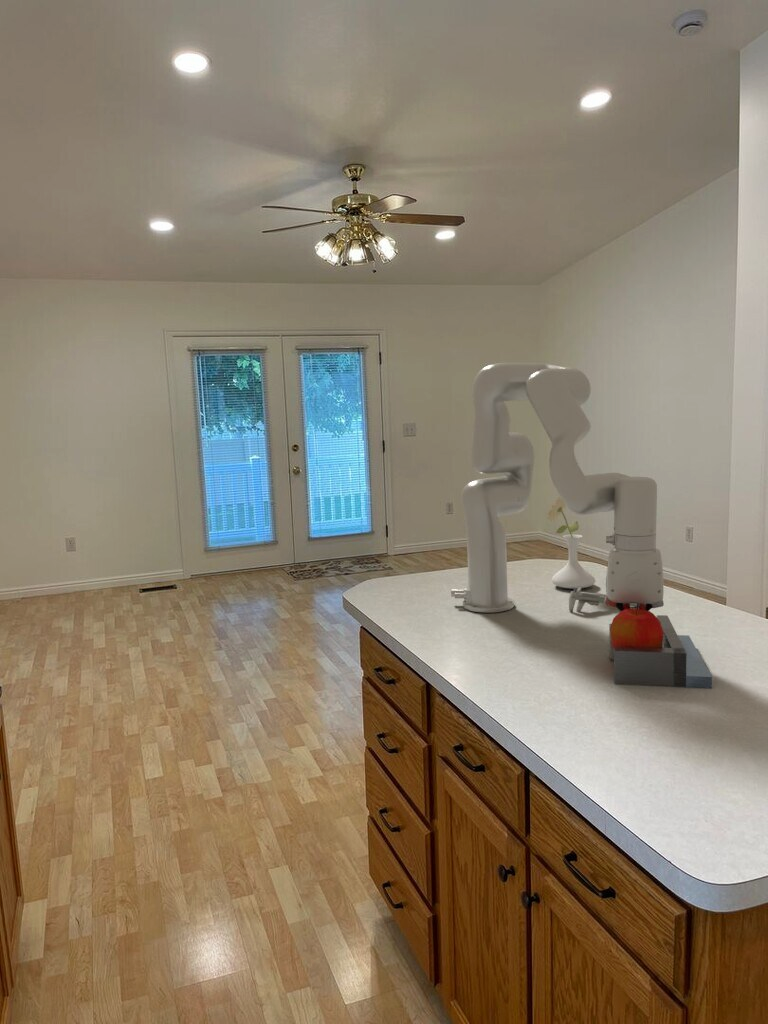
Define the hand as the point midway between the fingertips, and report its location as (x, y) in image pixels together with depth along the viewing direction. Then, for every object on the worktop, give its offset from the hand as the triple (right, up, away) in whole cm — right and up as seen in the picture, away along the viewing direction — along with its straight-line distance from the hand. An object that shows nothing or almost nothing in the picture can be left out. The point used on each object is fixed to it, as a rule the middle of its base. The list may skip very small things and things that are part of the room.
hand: (633, 634), depth 136 cm
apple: (-2, -5, -8) cm, 10 cm away
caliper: (+6, 0, +31) cm, 31 cm away
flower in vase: (+2, +3, +52) cm, 52 cm away
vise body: (+2, -4, -5) cm, 7 cm away
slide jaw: (-1, -4, -3) cm, 5 cm away
